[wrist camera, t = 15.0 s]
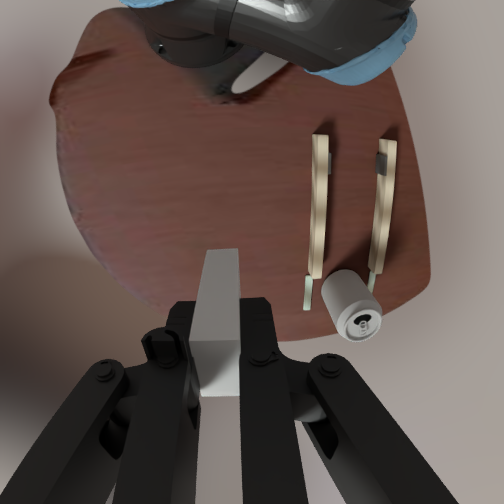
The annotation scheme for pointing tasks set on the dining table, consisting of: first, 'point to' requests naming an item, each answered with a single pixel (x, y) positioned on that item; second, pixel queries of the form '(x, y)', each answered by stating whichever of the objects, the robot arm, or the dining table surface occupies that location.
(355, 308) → the can
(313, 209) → the chute
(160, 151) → the dining table surface
